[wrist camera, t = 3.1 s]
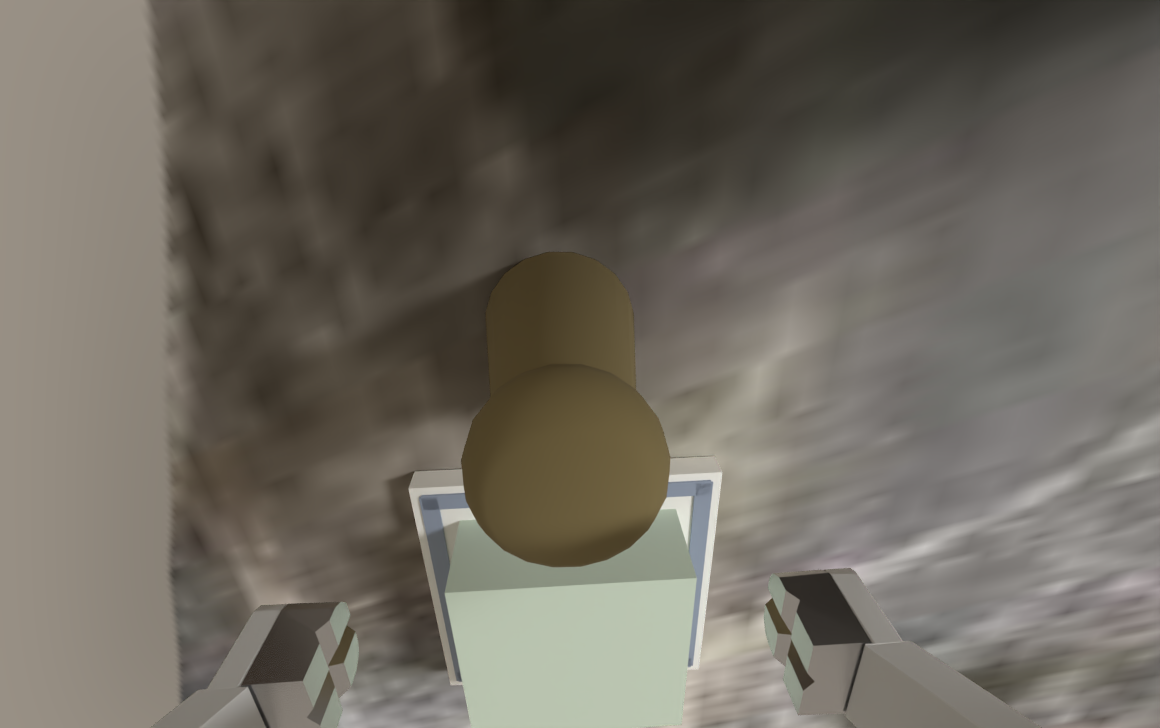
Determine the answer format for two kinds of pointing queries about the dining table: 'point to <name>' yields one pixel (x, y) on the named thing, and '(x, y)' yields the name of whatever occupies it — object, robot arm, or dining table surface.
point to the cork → (563, 419)
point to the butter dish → (571, 612)
